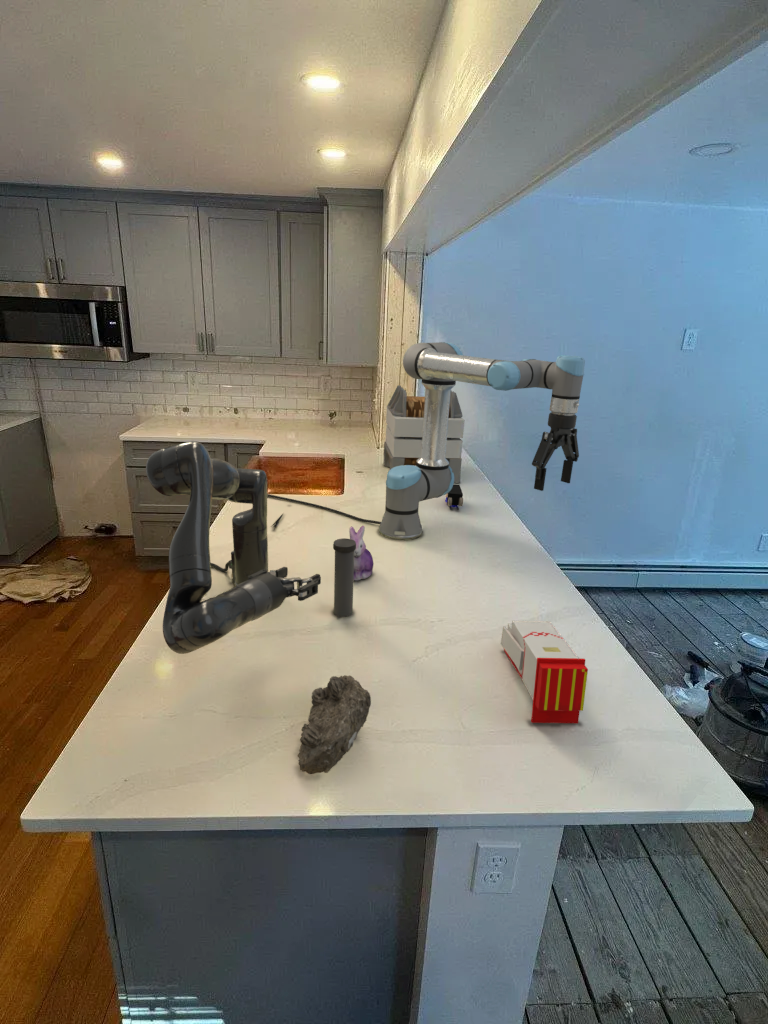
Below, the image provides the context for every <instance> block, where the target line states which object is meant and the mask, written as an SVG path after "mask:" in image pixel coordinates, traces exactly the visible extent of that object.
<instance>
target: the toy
mask: <svg viewBox="0 0 768 1024" xmlns="http://www.w3.org/2000/svg"><path fill="white" fill-rule="evenodd" d="M500 645H501V646H502V648H503V652H504V654H505V655H506V657H507V658H508V660H509V661H510V663H511V664H512V666H513V668H514V669H515V671H516V672H517V674H518V676H519V677H520V679H521V680H522V683H523V685H524V686H525V688H526V690H527V692H528V694H529V696H530V697H531V699H532V708H531V719H530V722H531V723H532V724H579V719H580V712H583V711H584V706H585V697H586V689H587V680H588V671H589V669H588V667H587V666H586V659H585V658H580V657H579V656H578V655H577V654H576V652H575V651H574V650H573V648H572V647H571V646H570V645H569V644H568V642H567V641H566V640H565V638H564V637H563V636H562V634H561V633H560V632H559V631H558V630H557V628H556V627H555V626H554V624H553V623H552V622H551V621H549V620H548V621H545V620H540V621H539V620H511V622H508V623H507V626H502V632H501V638H500Z"/></svg>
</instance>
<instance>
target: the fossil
mask: <svg viewBox="0 0 768 1024" xmlns="http://www.w3.org/2000/svg"><path fill="white" fill-rule="evenodd" d="M371 702H372V698H371V693H370V692H369V691H368V690H367V689H365V688H364V687H362V685H361V683H360V682H359V681H358V680H356V679H355V678H354V676H352V675H346V674H345V675H340V676H337V675H333V676H331V677H330V678H329V681H328V682H327V684H326V686H324V687H318V688H314V689H313V691H312V692H311V704H312V705H311V707H310V712H309V715H308V724H307V723H303V725H302V727H301V731H302V733H301V734H300V736H301V737H300V739H299V741H300V743H301V744H300V746H299V749H298V753H297V755H296V756H297V758H298V760H297V761H298V766H299V770H300V772H306V774H307V775H315V774H321V773H324V774H328V773H329V772H330V771H331V769H333V768H334V767H335V766H336V765H337V764H338V763H339V762H340V761H341V760H342V759H343V757H344V756H345V755H346V754H347V753H348V752H349V751H350V750H351V748H352V747H353V746H354V741H355V740H356V739H357V737H358V734H359V733H360V731H361V729H362V728H363V727H364V725H365V723H366V721H367V718H368V715H369V712H370V708H371V706H372V703H371Z"/></svg>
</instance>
